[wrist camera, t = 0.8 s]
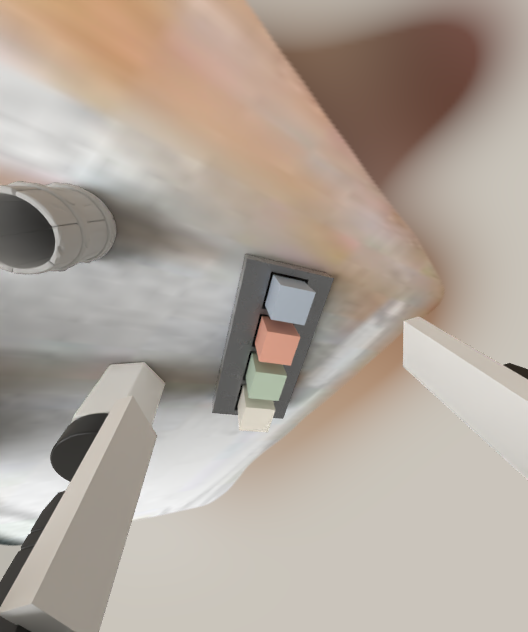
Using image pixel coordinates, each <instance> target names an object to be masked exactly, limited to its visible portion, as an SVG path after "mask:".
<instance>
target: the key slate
mask: <svg viewBox="0 0 528 632" xmlns="http://www.w3.org/2000/svg"><path fill="white" fill-rule="evenodd" d="M315 293H316V292H315V291H314V290H313V289H312V288H310V287H309V286H308V285H307V284H306V283H305V282H304V281H301V280H297V279H292V278H288V277H283V276H278V275H274V274H273V276H272V280H271V284H270V287H269V291H268V295H267V298H266V302H265V307H266V309H267V311H268V314H269V316H270V319H271V320H276V321H282V322H288V323H294V324H299V325H305V322H306V320H307V317H308V314H309V311H310V308H311V305H312V302H313V299H314V296H315Z"/></svg>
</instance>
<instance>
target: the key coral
mask: <svg viewBox="0 0 528 632" xmlns="http://www.w3.org/2000/svg"><path fill="white" fill-rule="evenodd" d="M299 340H300V335H299V333H298V332H297V330H296V328H295V327H294V325H293V323H288V322H282V321H276V320H271V319H270V317H268V316H262V317H261V321H260V324H259V328H258V332H257V335H256V339H255V346H256V351H257V355H258V359H259V361H260V362H267V363H275V364H282V365H290V366H291V363H292V360H293V357H294V354H295V352H296V349H297V346H298V343H299Z"/></svg>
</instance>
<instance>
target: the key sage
mask: <svg viewBox="0 0 528 632" xmlns="http://www.w3.org/2000/svg"><path fill="white" fill-rule="evenodd" d="M286 378H287V374H286V371H285V369H284V366H283V365H282V364H275V363H267V362H260V361H259V359H258V355H257V353H255V352H252V354H251V358H250V361H249V365H248V369H247V372H246V384H247V391H248V398H253V399H263V400H273V401H279V398H280V395H281V392H282V389H283V386H284V384H285V381H286Z"/></svg>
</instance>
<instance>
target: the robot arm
mask: <svg viewBox="0 0 528 632" xmlns="http://www.w3.org/2000/svg"><path fill="white" fill-rule="evenodd" d="M403 367H404V368H405V369H406V370H407V371H408V372H409V373H411V374H412V375H413V376H414V377H415V378H416V379H417V380H418V381H419V382H421V383H422V384H423V385H424V386H425V387H426V388H427V389H428V390H429V391H430V392H431V393H432V394H434V395H435V396H436V397H437V398H438V399H439V400H440V401H441V402H443V404H445V405H446V406H447V407H448V408H449V409H450V410H451V411H452V412H453V413H454V414H455V415H457V416H458V417H459V418H460V419H461V420H462V421H463V422H464V423H465V424H466V425H468V426H469V427H470V428H471V429H472V430H473V431H474V432H475V433H476V434H477V435H478V436H480V437H481V438H482V439H483V440H484V441H485V442H486V443H487V444H488V445H489V446H491V447H492V448H493V449H494V450H495V451H496V452H497V453H498V454H499V455H501V456H502V457H503V458H504V459H505V460H506V461H507V462H508V463H509V464H510V465H511V466H512V467H514V468H515V469H516V470H517V471H518V472H519V473H520V474H521V475H522V476H523V477H524V478H526V479H527V480H528V369H526V368H523V367H520V366H516V365H514V364H511V363H508V364H505V365H502V364H500V363H498V362H497V361H495V360H493V359H492V358H490V357H488V356H486V355H485V354H483V353H481V352H479V351H478V350H476V349H474V348H472V347H470V346H469V345H467V344H466V343H464V342H462V341H460V340H459V339H457V338H455V337H454V336H452V335H450V334H448V333H447V332H445V331H443V330H441V329H440V328H438V327H436V326H434V325H433V324H431V323H429V322H427V321H426V320H424V319H422V318H421V317H415V318H411V319H408V320H404V331H403ZM156 438H157V435H156V433H155V432H154V430H153V428H152V427H151V425H150V423H149V422H148V420H147V418H146V417H145V415H144V413H143V412H142V410H141V408H140V407H139V405H138V403H137V402H136V400H135V398H134V397H133V395H132V396H129V397H125V398H121V399H118V400H116V402H115V403H114V405H113V407H112V409H111V410H110V412H109V414H108V416H107V418H106V419H105V421H104V423H103V425H102V427H101V428H100V430H99V432H98V434H97V435H96V437H95V439H94V441H93V443H92V444H91V446H90V448H89V450H88V452H87V453H86V455H85V457H84V459H83V460H82V462H81V464H80V466H79V468H78V469H77V471H76V473H75V475H74V476H73V478H72V480H71V482H70V484H69V485H68V487H67V489H66V491H63V492H59V493H58V494H57V495H56V496H55V497H54V498H53V500H52V501H51V502H50V503H49V504H48V505H47V506H46V508H45V509H44V510H43V511H42V513H41V514H40V516H39V518H38V520H37V521H36V523H35V525H34V526H33V528H32V530H31V534H29V535H28V536H27V538H26V540H25V541H24V543H23V545H22V546H21V551H19V552H18V553H17V555H16V556H15V558H14V560H13V561H12V563H11V565H10V566H9V568H8V570H7V571H6V573H5V575H4V576H3V578H2V580H1V582H0V632H99V630H100V626H101V623H102V620H103V616H104V613H105V609H106V606H107V602H108V599H109V596H110V592H111V589H112V586H113V582H114V579H115V576H116V573H117V569H118V565H119V562H120V559H121V555H122V552H123V549H124V545H125V542H126V539H127V535H128V532H129V529H130V525H131V522H132V519H133V515H134V512H135V509H136V505H137V502H138V498H139V495H140V492H141V488H142V485H143V482H144V478H145V475H146V472H147V468H148V465H149V461H150V458H151V455H152V451H153V448H154V445H155V441H156Z"/></svg>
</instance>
